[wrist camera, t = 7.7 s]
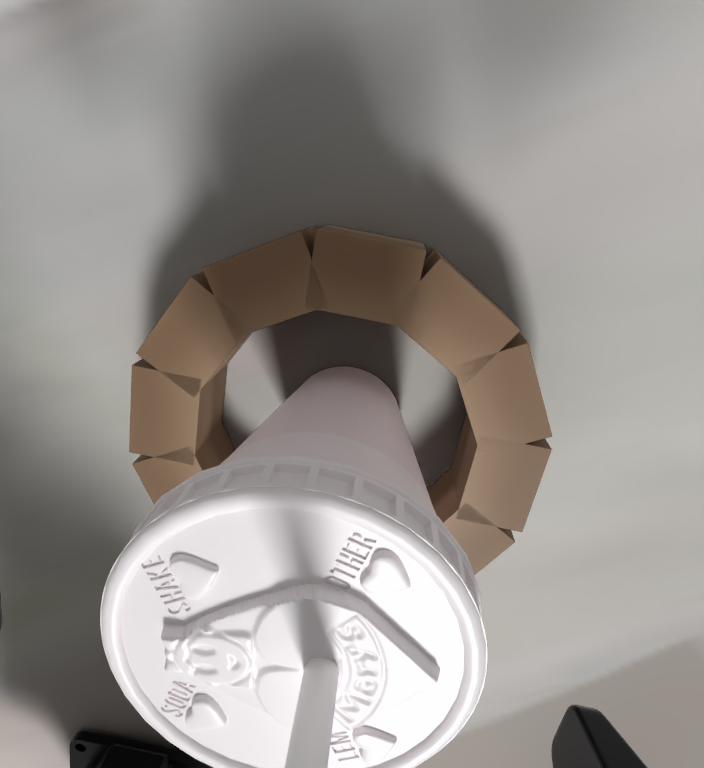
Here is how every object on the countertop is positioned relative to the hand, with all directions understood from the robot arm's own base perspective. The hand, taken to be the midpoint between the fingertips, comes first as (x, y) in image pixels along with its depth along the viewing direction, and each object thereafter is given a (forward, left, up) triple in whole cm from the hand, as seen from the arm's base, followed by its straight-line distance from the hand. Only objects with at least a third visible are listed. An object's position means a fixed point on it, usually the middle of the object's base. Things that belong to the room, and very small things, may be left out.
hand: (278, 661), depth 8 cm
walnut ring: (0, 0, -10) cm, 10 cm away
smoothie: (0, 0, -10) cm, 10 cm away
